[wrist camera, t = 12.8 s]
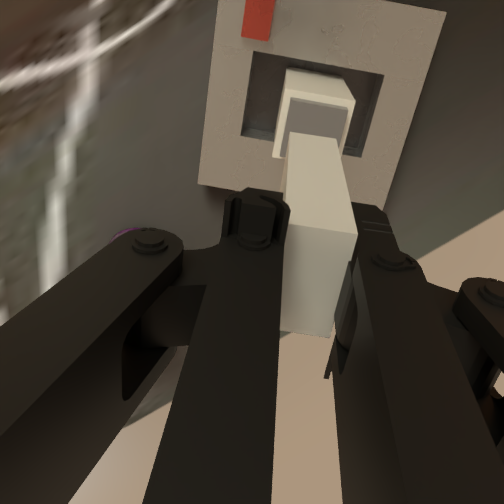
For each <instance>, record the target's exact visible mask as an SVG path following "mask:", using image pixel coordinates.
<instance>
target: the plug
mask: <svg viewBox="0 0 504 504" xmlns="http://www.w3.org/2000/svg"><path fill="white" fill-rule="evenodd" d="M355 102H356V101H355V99H354V97H353V96H352V94H351V92H350V90H349V89H348V87H347V85H346V83H345V82H344V80H343V78H342V76H337V75H331V74H326V73H320V72H315V71H309V70H304V69H299V68H293V67H288V66H287V68H286V74H285V79H284V84H283V90H282V95H281V100H280V106H279V111H278V116H277V122H276V130H275V137H274V145H273V153H272V157H274V158H279V159H285V157H286V151H287V145H288V140H289V134H290V132H295V133H302V134H308V135H315V136H321V137H328V138H335V139H336V140H337V144H338V149H339V153H340V157H341V156H342V152H343V148H344V144H345V140H346V137H347V133H348V129H349V125H350V121H351V118H352V114H353V110H354V106H355Z"/></svg>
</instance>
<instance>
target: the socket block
mask: <svg viewBox="0 0 504 504" xmlns="http://www.w3.org/2000/svg"><path fill="white" fill-rule="evenodd" d="M446 13H447V12H443V11H438V10H433V9H427V8H422V7H417V6H411V5H406V4H400V3H395V2H390V1H384V0H218V9H217V18H216V26H215V35H214V44H213V53H212V62H211V70H210V79H209V88H208V97H207V106H206V115H205V123H204V132H203V141H202V150H201V159H200V167H199V176H198V184H202V185H208V186H213V187H219V188H224V189H230V190H235V191H242V190H244V189H245V188H247V187H250V188H257V189H263V190H270V191H276V192H280V186H281V181H282V175H283V169H284V163H285V159H279V158H274V157H272V153H273V145H274V137H275V130H276V122H277V116H278V111H279V106H280V100H281V95H282V90H283V84H284V79H285V74H286V68H287V66H288V67H293V68H299V69H304V70H309V71H315V72H320V73H326V74H331V75H337V76H342V78H343V80H344V82H345V83H346V85H347V87H348V89H349V90H350V92H351V94H352V96H353V97H354V99H355V101H356V102H355V106H354V110H353V114H352V118H351V121H350V125H349V129H348V133H347V137H346V140H345V144H344V148H343V152H342V156H341V162H342V166H343V171H344V175H345V179H346V184H347V188H348V192H349V197H350V201H351V202H357V203H364V204H370V205H376V206H377V207H378V208H379V209H381V210H383V207H384V204H385V201H386V198H387V195H388V192H389V189H390V186H391V183H392V180H393V176H394V173H395V170H396V167H397V164H398V161H399V158H400V155H401V152H402V149H403V146H404V143H405V139H406V136H407V133H408V130H409V127H410V124H411V121H412V118H413V115H414V112H415V109H416V106H417V102H418V99H419V96H420V93H421V90H422V87H423V84H424V81H425V78H426V75H427V72H428V69H429V66H430V62H431V59H432V56H433V53H434V50H435V47H436V44H437V41H438V38H439V35H440V32H441V29H442V25H443V22H444V19H445V16H446Z"/></svg>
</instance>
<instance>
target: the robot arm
mask: <svg viewBox="0 0 504 504" xmlns="http://www.w3.org/2000/svg"><path fill="white" fill-rule="evenodd" d="M392 233H393V231H392V229H391V226H390V223H389V220H388V218H387V215H386V214H385V213H384V212H383V211H382V210H381V209H379V208H378V207H377V206H376V205H370V204H364V203H357V202H351V201H350V197H349V192H348V188H347V184H346V179H345V175H344V171H343V166H342V162H341V157H340V153H339V149H338V144H337V140H336V139H335V138H328V137H321V136H315V135H308V134H302V133H295V132H290V134H289V140H288V145H287V151H286V157H285V163H284V169H283V175H282V181H281V186H280V192H276V191H270V190H263V189H257V188H250V187H247V188H245V189H244V190H242V191H240V192H239V193H236V194H233V195H230V196H229V197H228V198H227V199H226V200H225V206H224V215H223V224H222V233H221V239H220V242H219V244H217V245H215V246H213V247H210V248H205V249H198V250H183V249H184V247H183V243H182V240H181V239H180V238H179V237H177V236H176V235H175V234H172V233H170V232H168V231H165V230H160V229H156V228H140V229H136V230H131V231H128V232H126V233H124V234H122V235H120V236H118V237H117V238H116V239H114V240H113V241H112V242H111V243H109V244H108V245H107V246H105V247H104V248H103V249H101V250H100V251H99V252H97V253H96V254H95V255H94V256H92V257H91V258H90V259H88V260H87V261H86V262H84V263H83V264H82V265H80V266H79V267H78V268H76V269H75V270H74V271H73V272H71V273H70V274H69V275H67V276H66V277H65V278H63V279H62V280H61V281H59V282H58V283H57V284H56V285H54V286H53V287H52V288H50V289H49V290H48V291H46V292H45V293H44V294H42V295H41V296H40V297H38V298H37V299H36V300H35V301H33V302H32V303H31V304H29V305H28V306H27V307H25V308H24V309H23V310H21V311H20V312H19V313H17V314H16V315H15V316H14V317H12V318H11V319H10V320H8V321H7V322H6V323H4V324H3V325H2V326H0V504H68V502H69V501H70V500H71V498H72V497H73V496H74V494H75V493H76V492H77V490H78V489H79V487H80V486H81V484H82V483H83V482H84V480H85V479H86V478H87V476H88V475H89V473H90V472H91V470H92V469H93V468H94V467H95V465H96V464H97V462H98V461H99V460H100V458H101V457H102V455H103V454H104V452H105V451H106V450H107V448H108V447H109V446H110V444H111V443H112V441H113V440H114V439H115V437H116V436H117V434H118V433H119V432H120V430H121V429H122V428H123V426H124V425H125V423H126V422H127V421H128V419H129V418H130V416H131V415H132V414H133V412H134V411H135V410H136V408H137V407H138V405H139V404H140V403H141V401H142V400H143V398H144V397H145V396H146V394H147V393H148V391H149V390H150V389H151V387H152V386H153V384H154V383H155V382H156V380H157V379H158V378H159V376H160V375H161V373H162V372H163V371H164V369H165V368H166V366H167V365H168V364H169V362H170V361H171V359H172V358H173V357H174V355H175V352H176V350H177V346H185V345H189V347H188V350H187V354H186V357H185V361H184V364H183V367H182V371H181V374H180V377H179V381H178V384H177V388H176V391H175V394H174V398H173V401H172V405H171V408H170V411H169V415H168V418H167V421H166V425H165V428H164V432H163V435H162V438H161V442H160V445H159V448H158V452H157V455H156V459H155V462H154V465H153V469H152V472H151V475H150V479H149V482H148V486H147V489H146V492H145V496H144V499H143V502H142V504H271V494H272V474H273V455H274V436H275V415H276V396H277V376H278V357H279V338H280V330H281V331H287V332H294V333H300V334H306V335H313V336H319V337H325V338H330V334H331V331H332V327H333V324H334V320H335V329H336V335H335V338H334V342H333V345H332V349H331V353H330V356H329V360H328V363H327V367H326V370H325V375H324V378H325V379H329V376H330V372H331V371H332V374H333V387H334V399H335V412H336V424H337V437H338V449H339V462H340V474H341V487H342V499H343V504H504V397H502V396H501V395H500V394H499V393H498V392H497V391H496V389H495V388H494V387H493V386H494V384H495V382H496V380H497V378H498V377H499V375H500V373H501V371H502V372H503V373H504V282H502V281H499V280H498V281H497V280H496V279H492V278H481V277H476V278H468V279H467V280H465V281H464V282H462V285H461V287H460V290H459V292H455V291H451V290H449V289H446V288H442V287H439V286H436V285H434V284H431V283H429V282H427V280H426V278H425V275H424V273H423V270H422V268H421V266H420V265H419V264H418V262H417V261H416V260H415V259H413V258H412V257H410V256H409V255H408V254H405V253H403V252H401V251H400V250H399V248H398V245H397V242H396V239H395V237H394V234H392Z"/></svg>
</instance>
